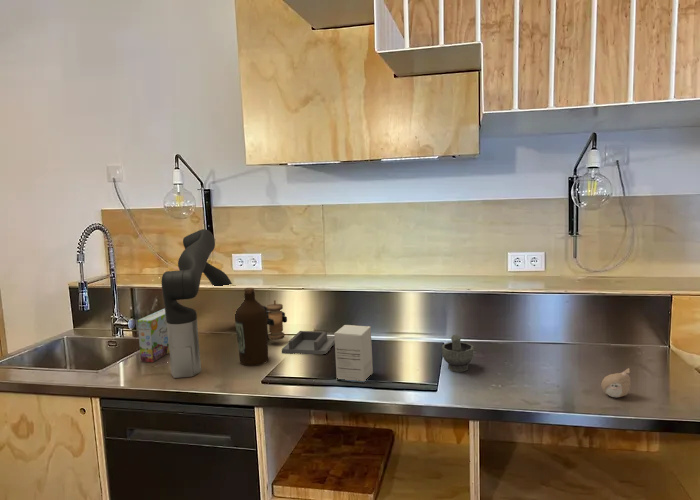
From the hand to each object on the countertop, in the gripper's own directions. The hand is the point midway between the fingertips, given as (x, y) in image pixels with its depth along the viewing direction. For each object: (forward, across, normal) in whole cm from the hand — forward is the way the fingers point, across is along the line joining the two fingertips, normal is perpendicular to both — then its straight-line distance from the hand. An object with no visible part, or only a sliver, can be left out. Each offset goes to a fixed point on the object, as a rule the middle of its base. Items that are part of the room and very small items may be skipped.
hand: (279, 321), depth 187 cm
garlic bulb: (+103, +37, +10) cm, 110 cm away
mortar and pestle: (+62, +25, +9) cm, 67 cm away
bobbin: (-3, 0, +6) cm, 7 cm away
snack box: (-25, -34, +9) cm, 43 cm away
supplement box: (+43, -2, +10) cm, 44 cm away
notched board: (+10, +6, +9) cm, 15 cm away
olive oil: (+8, -16, +9) cm, 20 cm away
